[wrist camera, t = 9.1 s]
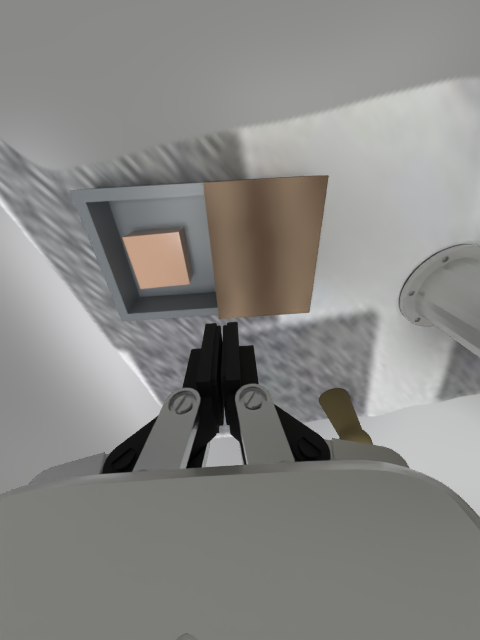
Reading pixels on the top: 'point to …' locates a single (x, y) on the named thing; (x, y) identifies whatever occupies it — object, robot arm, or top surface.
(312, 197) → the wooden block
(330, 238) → the top surface
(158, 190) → the box
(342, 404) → the cork
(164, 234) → the terracotta block
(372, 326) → the top surface
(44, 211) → the top surface
